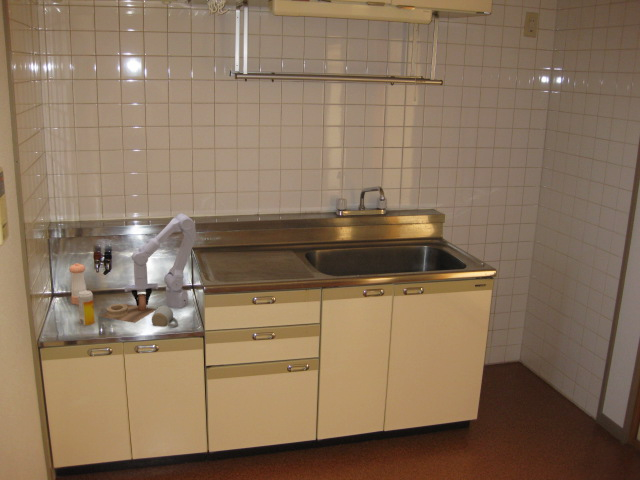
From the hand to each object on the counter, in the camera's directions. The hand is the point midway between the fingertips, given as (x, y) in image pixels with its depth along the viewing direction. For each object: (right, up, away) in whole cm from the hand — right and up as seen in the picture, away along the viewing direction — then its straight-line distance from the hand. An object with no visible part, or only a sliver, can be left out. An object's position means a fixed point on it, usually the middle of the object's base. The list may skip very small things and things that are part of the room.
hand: (142, 304), depth 301 cm
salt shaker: (-32, 0, +11) cm, 34 cm away
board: (-5, -4, -3) cm, 8 cm away
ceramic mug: (+14, -8, -13) cm, 20 cm away
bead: (-10, -4, -5) cm, 12 cm away
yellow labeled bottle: (-20, -7, -15) cm, 26 cm away
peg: (0, -2, +1) cm, 2 cm away
